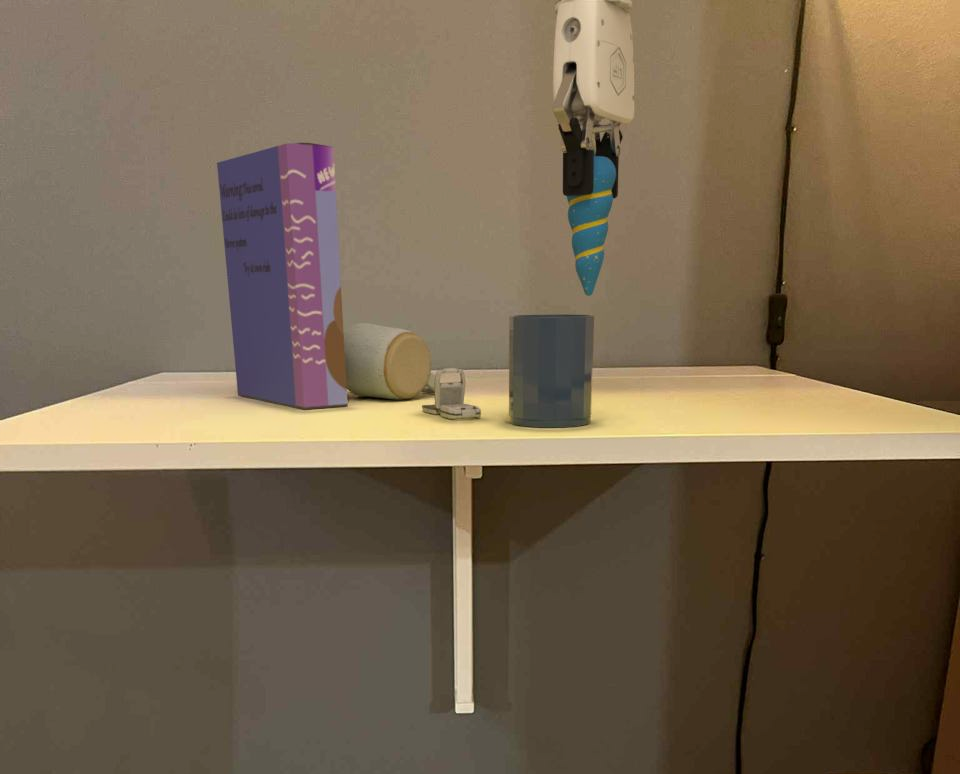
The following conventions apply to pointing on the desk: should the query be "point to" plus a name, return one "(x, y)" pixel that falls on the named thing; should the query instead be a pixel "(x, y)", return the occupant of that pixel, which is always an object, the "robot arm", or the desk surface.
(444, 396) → the strap clip
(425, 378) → the ceramic mug
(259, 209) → the cereal box
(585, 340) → the cup
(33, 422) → the desk surface
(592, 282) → the ornament
